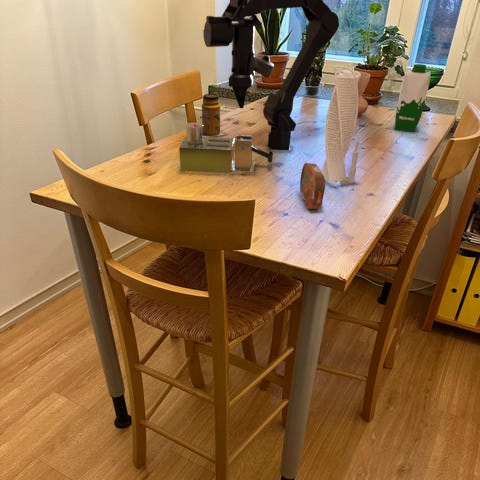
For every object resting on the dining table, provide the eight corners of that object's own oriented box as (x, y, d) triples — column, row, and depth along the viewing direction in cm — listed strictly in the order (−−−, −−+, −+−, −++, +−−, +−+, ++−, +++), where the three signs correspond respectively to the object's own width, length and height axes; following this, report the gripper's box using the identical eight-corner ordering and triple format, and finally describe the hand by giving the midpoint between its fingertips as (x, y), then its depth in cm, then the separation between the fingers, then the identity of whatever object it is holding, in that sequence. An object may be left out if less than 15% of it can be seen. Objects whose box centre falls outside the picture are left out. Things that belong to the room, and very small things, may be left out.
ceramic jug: (335, 106, 190) (340, 67, 181) (370, 111, 185) (377, 71, 176) (322, 117, 177) (327, 75, 168) (360, 122, 172) (367, 80, 163)
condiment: (225, 135, 156) (225, 96, 149) (203, 138, 152) (202, 99, 145) (214, 129, 161) (213, 91, 154) (192, 133, 157) (191, 94, 150)
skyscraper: (328, 188, 121) (345, 68, 104) (312, 177, 127) (326, 62, 110) (355, 183, 124) (376, 66, 107) (338, 173, 130) (355, 60, 113)
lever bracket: (254, 165, 134) (255, 133, 128) (253, 175, 127) (254, 142, 122) (234, 164, 134) (234, 132, 129) (231, 174, 128) (231, 141, 122)
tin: (298, 190, 120) (301, 157, 115) (310, 189, 120) (314, 157, 115) (310, 215, 108) (314, 180, 103) (323, 215, 108) (328, 180, 103)
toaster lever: (270, 158, 131) (274, 150, 130) (269, 165, 126) (273, 157, 125) (238, 142, 129) (241, 134, 128) (236, 149, 125) (240, 141, 123)
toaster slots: (230, 140, 129) (230, 140, 129) (228, 146, 124) (228, 146, 124) (209, 139, 129) (208, 139, 129) (206, 145, 125) (206, 145, 125)
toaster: (234, 163, 135) (234, 137, 130) (231, 175, 127) (231, 149, 123) (184, 160, 136) (182, 135, 131) (177, 172, 128) (176, 146, 123)
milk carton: (419, 127, 169) (434, 65, 156) (416, 133, 162) (432, 69, 150) (394, 124, 171) (407, 63, 159) (391, 130, 165) (404, 67, 152)
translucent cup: (184, 140, 128) (183, 122, 125) (199, 138, 129) (198, 120, 126) (190, 145, 125) (189, 126, 122) (205, 143, 126) (205, 124, 123)
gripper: (272, 52, 116) (269, 117, 126) (273, 41, 131) (269, 101, 141) (228, 50, 117) (228, 116, 126) (233, 40, 132) (233, 99, 141)
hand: (241, 108), depth 134 cm, fingers closed
